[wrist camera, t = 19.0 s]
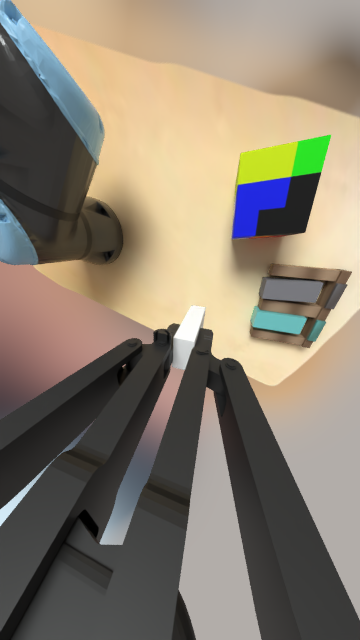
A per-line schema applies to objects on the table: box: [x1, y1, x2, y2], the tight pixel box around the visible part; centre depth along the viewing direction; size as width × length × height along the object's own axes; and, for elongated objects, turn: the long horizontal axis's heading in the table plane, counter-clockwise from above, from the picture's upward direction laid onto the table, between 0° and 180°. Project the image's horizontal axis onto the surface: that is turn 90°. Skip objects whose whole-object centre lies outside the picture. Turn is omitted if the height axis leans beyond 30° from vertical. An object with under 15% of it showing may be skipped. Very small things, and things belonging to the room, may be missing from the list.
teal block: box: [251, 306, 307, 334], centre depth 36 cm, size 10×4×4 cm, turn 87°
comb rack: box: [250, 264, 352, 348], centre depth 34 cm, size 13×18×4 cm
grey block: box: [259, 277, 324, 303], centre depth 33 cm, size 10×4×4 cm, turn 90°
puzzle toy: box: [231, 135, 331, 240], centre depth 25 cm, size 10×10×10 cm
